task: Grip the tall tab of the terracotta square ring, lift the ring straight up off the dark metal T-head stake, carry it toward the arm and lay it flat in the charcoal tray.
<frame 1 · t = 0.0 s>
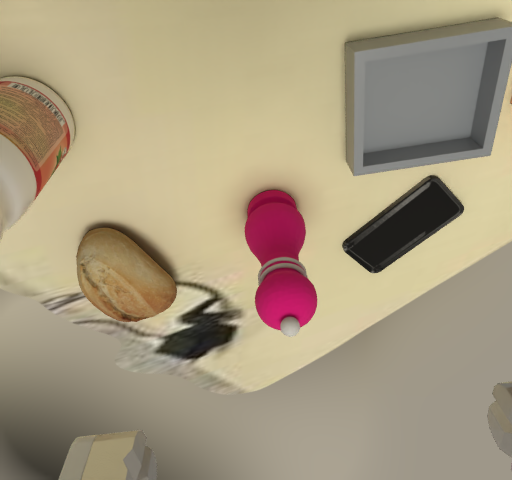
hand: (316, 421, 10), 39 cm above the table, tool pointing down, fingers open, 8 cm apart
tray: (414, 96, 45), on the table
bread roll: (132, 260, 57), on the table
phone: (399, 224, 56), on the table
pepper mill: (271, 209, 53), on the table
fruit juice: (31, 118, 44), on the table
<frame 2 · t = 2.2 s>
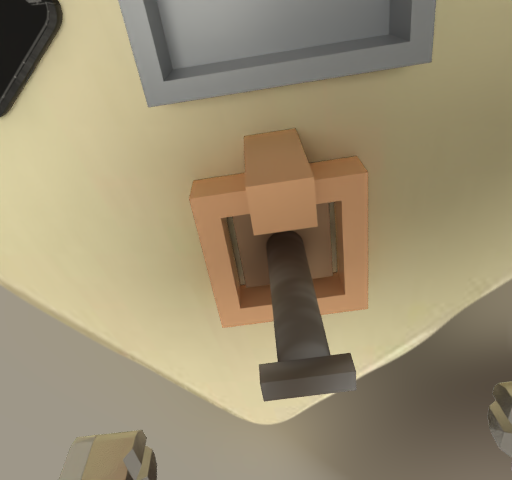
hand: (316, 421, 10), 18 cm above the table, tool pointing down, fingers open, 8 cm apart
stake: (283, 237, 28), on the table
ring: (283, 237, 28), on the table
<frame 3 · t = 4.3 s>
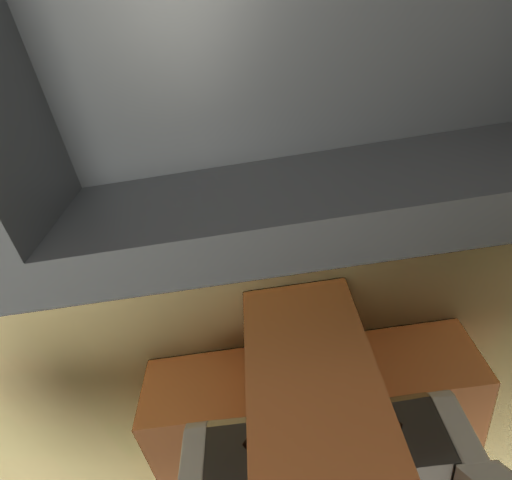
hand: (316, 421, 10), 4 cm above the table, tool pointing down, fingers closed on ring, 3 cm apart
ring: (311, 432, 16), on the table, touching gripper
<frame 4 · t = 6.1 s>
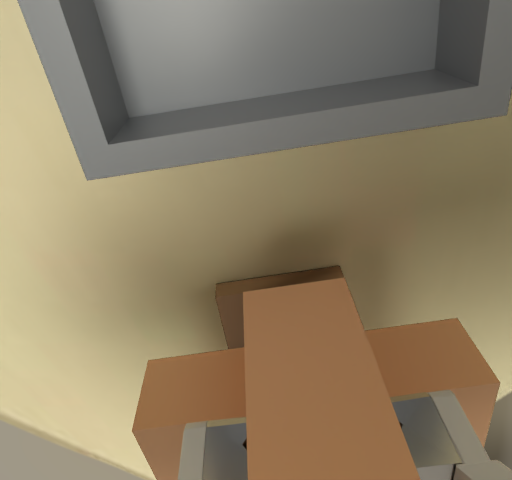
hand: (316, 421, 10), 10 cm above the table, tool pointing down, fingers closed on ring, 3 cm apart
stake: (284, 321, 21), on the table
ring: (311, 432, 16), point 6 cm above the table, touching gripper
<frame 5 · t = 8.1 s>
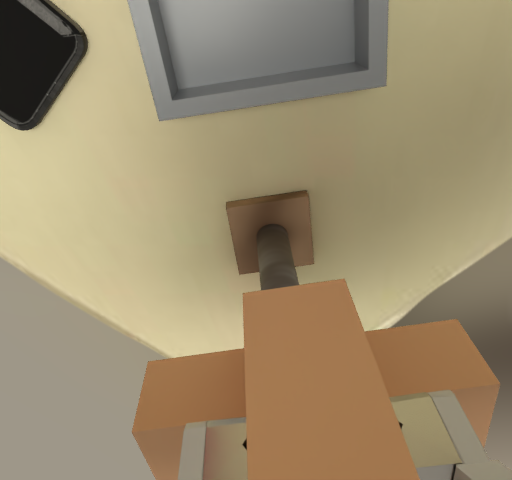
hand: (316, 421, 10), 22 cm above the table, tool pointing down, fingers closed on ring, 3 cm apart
stake: (271, 230, 32), on the table
ring: (311, 432, 16), point 18 cm above the table, touching gripper
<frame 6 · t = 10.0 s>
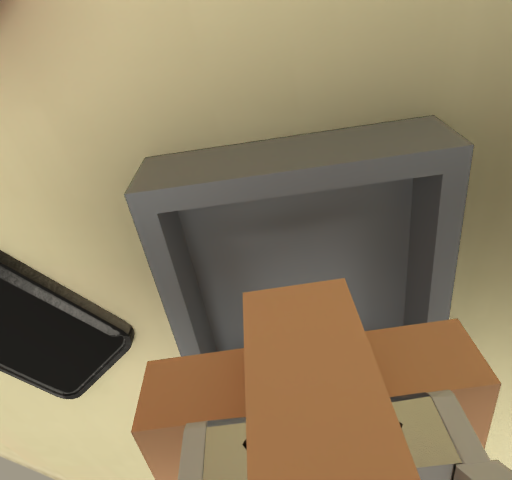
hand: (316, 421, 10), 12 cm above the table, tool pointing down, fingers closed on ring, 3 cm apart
tray: (300, 270, 22), on the table
ring: (311, 432, 16), point 9 cm above the table, touching gripper
when the fingers open (6 cm above the table, at t = 11.5 s): ring drops 1 cm, resting on tray.
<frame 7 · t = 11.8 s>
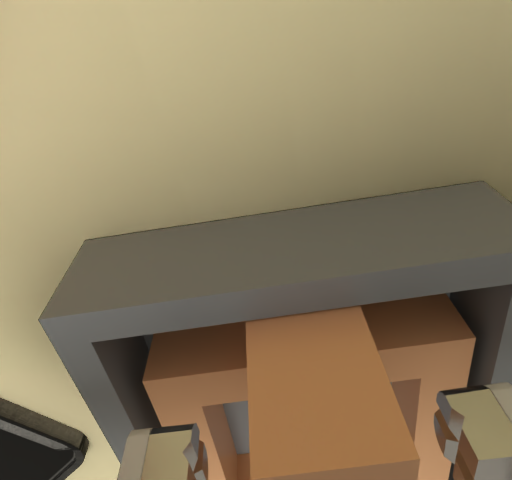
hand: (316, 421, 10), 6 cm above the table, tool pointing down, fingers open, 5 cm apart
tray: (300, 367, 17), on the table
ring: (306, 396, 17), point 1 cm above the table, touching tray
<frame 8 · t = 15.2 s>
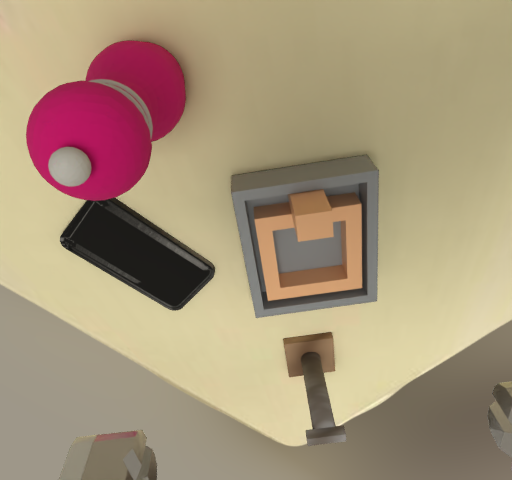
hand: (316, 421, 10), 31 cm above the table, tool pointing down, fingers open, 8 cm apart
tray: (305, 231, 43), on the table
phone: (141, 251, 44), on the table
pepper mill: (148, 81, 35), on the table
stake: (309, 352, 53), on the table
ring: (307, 242, 43), point 1 cm above the table, touching tray
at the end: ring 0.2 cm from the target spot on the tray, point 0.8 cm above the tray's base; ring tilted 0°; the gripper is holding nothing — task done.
